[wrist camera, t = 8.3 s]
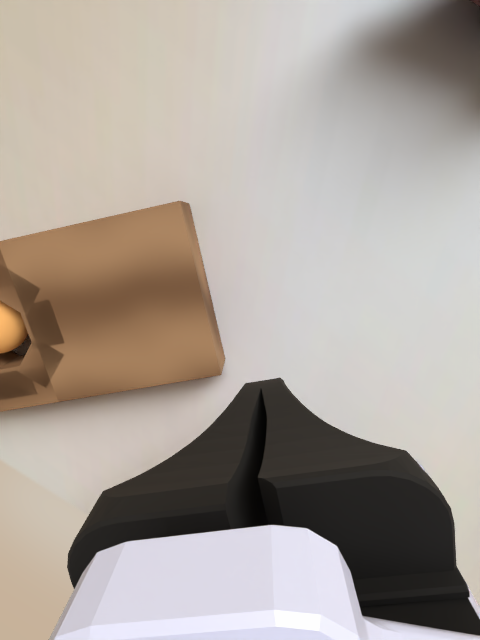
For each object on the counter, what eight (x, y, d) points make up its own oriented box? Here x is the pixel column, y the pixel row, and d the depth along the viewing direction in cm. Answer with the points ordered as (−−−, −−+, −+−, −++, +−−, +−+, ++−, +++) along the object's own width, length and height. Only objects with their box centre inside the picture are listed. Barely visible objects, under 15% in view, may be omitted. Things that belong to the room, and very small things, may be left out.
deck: (225, 358, 23) (221, 374, 20) (-9, 398, 24) (-38, 417, 22) (189, 203, 20) (179, 200, 18) (-69, 261, 22) (-109, 265, 19)
